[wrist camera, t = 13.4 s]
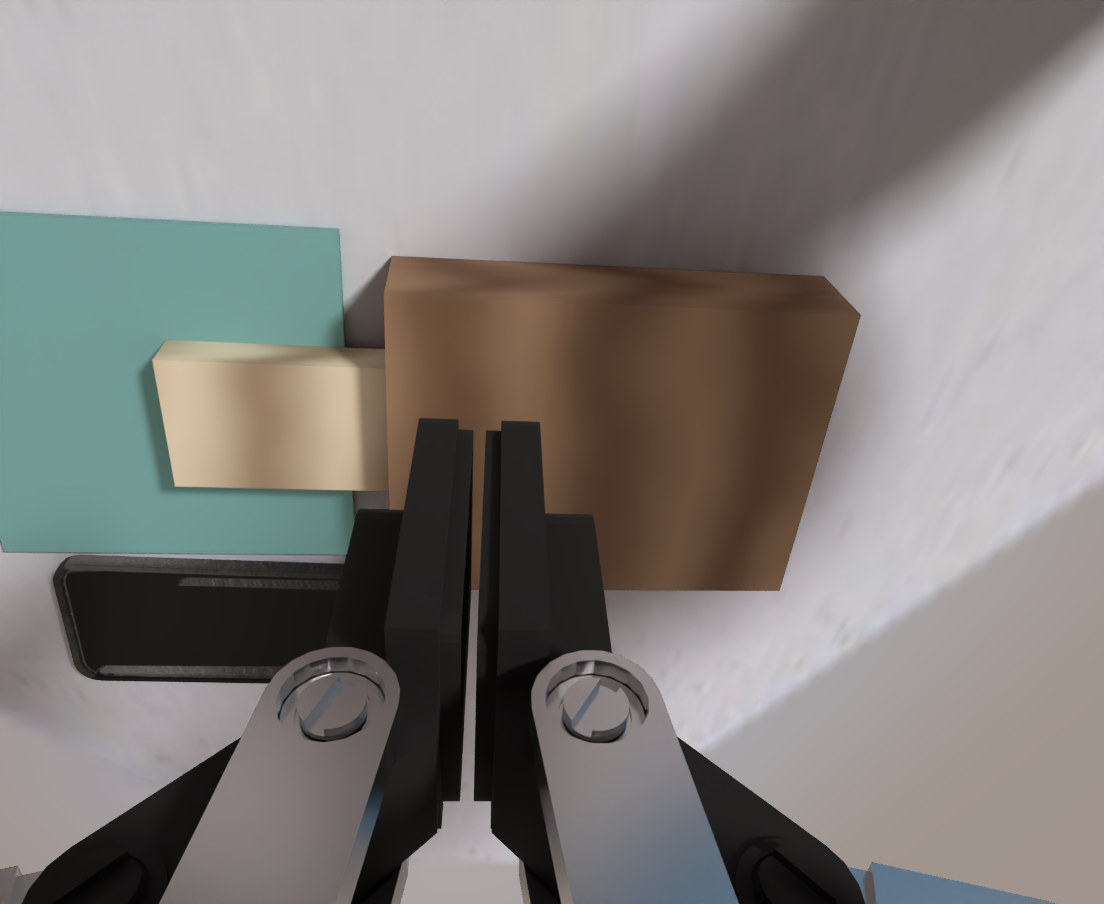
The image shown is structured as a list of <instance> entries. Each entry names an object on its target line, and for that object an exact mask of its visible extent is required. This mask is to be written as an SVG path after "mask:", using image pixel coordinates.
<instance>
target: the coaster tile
mask: <svg viewBox="0 0 1104 904" xmlns="http://www.w3.org/2000/svg"><path fill="white" fill-rule="evenodd" d="M152 362H153V367H154V373H155V378H156V384H157V389H158V395H159V400H160V406H161V411H162V417H163V422H164V428H165V434H166V439H167V445H168V450H169V456H170V461H171V467H172V472H173V478H174V483H175V486H176V487H222V488H267V489H312V490H357V491H389V475H388V438H387V401H386V364H385V349H370V348H346V347H322V346H298V345H274V344H249V343H225V342H201V341H177V340H165V342H164V343H163V345H162V346H161V348H160V349H159V351H158V352H157V354H156V355H155V357H154V358H153V359H152Z"/></svg>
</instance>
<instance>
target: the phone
mask: <svg viewBox="0 0 1104 904" xmlns="http://www.w3.org/2000/svg"><path fill="white" fill-rule="evenodd" d="M343 568H344V564H326V563H298V562H269V561H240V560H212V559H183V558H154V557H126V556H97V555H75V556H71V557H68V558H66V559H65V560H64V561H63V562H62V563H61V565H60V566H59V568H58V569H57V571H56V573H55V575H54V577H53V583H54V587H55V591H56V595H57V599H58V603H59V607H60V611H61V614H62V618H63V622H64V626H65V630H66V634H67V638H68V642H69V646H70V650H71V653H72V657H73V661H74V665H75V667H76V669H77V670H78V671H79V672H80V673H81V674H83V675H84V676H86V677H88V678H91V679H94V680H103V681H161V682H218V683H270V681H271V680H272V679H273V677H274V676H275V674H276V673H277V672H278V671H280V670H281V669H282V668H283V667H285V666H286V665H287V664H288V663H290V662H291V661H292V660H294V659H296V658H298V657H301V656H303V655H305V654H307V653H309V652H311V651H316V650H320V649H324V647H325V643H326V639H327V635H328V631H329V626H330V622H331V618H332V614H333V610H334V605H335V601H336V597H337V593H338V589H339V585H340V580H341V576H342V572H343Z"/></svg>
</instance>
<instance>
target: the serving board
mask: <svg viewBox="0 0 1104 904" xmlns="http://www.w3.org/2000/svg"><path fill="white" fill-rule="evenodd" d="M860 316H861V315H860V314H859V313H858V312H857V311H856V309H855V308H854V307H853V306H852V305H851V304H850V303H849V302H848V301H847V300H846V299H845V298H844V297H843V296H842V295H841V294H840V293H839V292H838V291H837V290H836V289H835V287H834V286H833V285H832V284H831V283H830V282H829V281H828V280H827V279H826V278H825V277H822V276H801V275H780V274H759V273H738V272H717V271H695V270H674V269H653V268H632V267H611V266H590V265H569V264H548V263H527V262H506V261H485V260H464V259H443V258H422V257H400V256H392V257H391V262H390V267H389V272H388V276H387V281H386V286H385V291H384V327H385V364H386V401H387V438H388V475H389V510H404V505H405V499H406V493H407V487H408V481H409V475H410V469H411V463H412V457H413V451H414V445H415V439H416V433H417V427H418V421H419V418H440V419H458V420H459V429H463V430H473V431H474V439H473V507H472V574H471V590H479V583H480V559H481V535H482V511H483V487H484V463H485V439H486V430H496V431H501V420H503V421H534V422H540V430H541V447H542V465H543V483H544V500H545V513H551V514H592V516H593V517H594V522H595V529H596V537H597V544H598V552H599V559H600V567H601V574H602V582H603V590H722V591H780V587H781V584H782V581H783V577H784V574H785V570H786V567H787V564H788V560H789V557H790V553H791V550H792V547H793V543H794V540H795V537H796V533H797V530H798V526H799V523H800V520H801V516H802V513H803V509H804V506H805V503H806V499H807V496H808V492H809V489H810V486H811V482H812V479H813V475H814V472H815V469H816V465H817V462H818V459H819V455H820V452H821V448H822V445H823V442H824V438H825V435H826V431H827V428H828V425H829V421H830V418H831V414H832V411H833V408H834V404H835V401H836V397H837V394H838V391H839V387H840V384H841V381H842V377H843V374H844V370H845V367H846V364H847V360H848V357H849V353H850V350H851V347H852V343H853V340H854V336H855V333H856V330H857V326H858V323H859V319H860Z"/></svg>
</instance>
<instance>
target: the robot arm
mask: <svg viewBox="0 0 1104 904" xmlns="http://www.w3.org/2000/svg"><path fill="white" fill-rule="evenodd" d="M473 439H474V431H473V430H463V429H459V420H458V419H440V418H419V421H418V427H417V433H416V439H415V445H414V451H413V457H412V463H411V469H410V475H409V481H408V487H407V493H406V499H405V505H404V510H387V509H359V510H358V512H357V515H356V518H355V522H354V526H353V530H352V534H351V538H350V543H349V547H348V551H347V555H346V559H345V564H344V568H343V572H342V576H341V580H340V585H339V589H338V593H337V597H336V601H335V605H334V610H333V614H332V618H331V622H330V626H329V631H328V635H327V639H326V643H325V647H324V649H320V650H316V651H311V652H309V653H307V654H305V655H303V656H301V657H298V658H296V659H294V660H292V661H291V662H290V663H288V664H287V665H286V666H285V667H283V668H282V669H281V670H280V671H278V672H277V673H276V674H275V676H274V677H273V679H272V680H271V681H270V683H269V684H268V686H267V687H266V688H265V690H264V692H263V694H262V696H261V698H260V701H259V703H258V705H257V707H256V709H255V711H254V713H253V715H252V717H251V719H250V721H249V723H248V725H247V727H246V729H245V731H244V733H243V735H242V737H241V738H239V739H238V740H236V741H234V742H233V743H231V744H230V745H228V746H227V747H225V748H224V749H222V750H221V751H219V752H217V753H216V754H214V755H213V756H211V757H210V758H208V759H207V760H205V761H204V762H202V763H200V764H199V765H197V766H196V767H194V768H193V769H191V770H190V771H188V772H187V773H185V774H183V775H182V776H180V777H179V778H177V779H176V780H174V781H173V782H171V783H170V784H168V785H167V786H165V787H163V788H162V789H160V790H159V791H157V792H156V793H154V794H153V795H151V796H150V797H148V798H146V799H145V800H143V801H142V802H140V803H139V804H137V805H136V806H134V807H133V808H131V809H129V810H128V811H126V812H125V813H123V814H122V815H120V816H119V817H117V818H116V819H114V820H113V821H111V822H109V823H108V824H106V825H105V826H103V827H102V828H100V829H99V830H97V831H96V832H94V833H92V834H91V835H89V836H88V837H86V838H85V839H83V840H82V841H80V842H78V843H77V844H75V845H74V846H72V847H71V848H69V849H68V850H67V851H66V852H64V853H63V854H62V855H61V856H59V857H58V858H57V859H56V860H54V861H53V862H52V863H51V864H50V865H48V866H47V867H46V868H45V869H44V871H41V872H36V873H31V874H26V875H22V873H21V871H20V870H19V868H18V866H14V867H9V868H5V869H0V904H400V902H401V898H402V895H403V891H404V887H405V883H406V879H407V875H408V864H409V856H411V855H412V854H413V853H414V852H415V851H416V850H418V849H419V848H420V847H421V846H422V845H423V844H424V843H426V842H427V841H428V840H429V839H430V838H431V837H433V836H434V835H435V834H436V833H437V829H441V825H442V811H443V801H460V791H461V772H462V753H463V734H464V715H465V697H466V678H467V659H468V640H469V621H470V602H471V574H472V507H473ZM474 801H491V829H492V833H493V834H494V835H495V836H496V837H497V838H498V839H499V840H500V841H501V842H502V843H503V844H504V845H505V846H506V847H508V848H509V849H510V850H511V851H512V852H513V853H514V854H515V855H516V856H517V857H518V858H519V878H520V884H521V890H522V895H523V902H524V904H1055V903H1052V902H1050V901H1046V900H1041V899H1037V898H1032V897H1027V896H1022V895H1018V894H1014V893H1009V892H1005V891H1000V890H996V889H991V888H987V887H982V886H978V885H973V884H969V883H964V882H960V881H955V880H950V879H946V878H941V877H937V876H932V875H928V874H923V873H919V872H914V871H910V870H905V869H901V868H896V867H892V866H887V865H883V864H878V863H874V862H872V863H871V865H870V867H869V869H868V871H865V870H860V869H856V868H851V867H847V866H846V864H845V863H844V862H843V861H842V860H841V859H840V858H839V857H838V856H837V855H836V854H835V853H833V852H832V851H831V850H830V849H829V848H828V847H827V846H826V845H824V844H823V843H822V842H820V841H819V840H818V839H816V838H815V837H813V836H812V835H810V834H809V833H808V832H806V831H805V830H804V829H802V828H801V827H800V826H798V825H797V824H796V823H794V822H793V821H791V820H790V819H789V818H787V817H786V816H785V815H783V814H782V813H781V812H779V811H778V810H776V809H775V808H774V807H772V806H771V805H770V804H768V803H767V802H766V801H764V800H763V799H762V798H760V797H759V796H757V795H756V794H755V793H753V792H752V791H750V790H749V789H748V788H747V787H745V786H744V785H742V784H741V783H740V782H738V781H737V780H735V779H734V778H733V777H732V776H730V775H729V774H727V773H726V772H725V771H723V770H722V769H721V768H719V767H718V766H717V765H715V764H714V763H712V762H711V761H710V760H708V759H707V758H706V757H704V756H703V755H701V754H700V753H699V752H697V751H696V750H695V749H693V748H692V747H691V746H689V745H688V744H686V743H685V742H684V741H682V740H681V739H680V738H678V737H677V736H676V733H675V730H674V728H673V725H672V722H671V720H670V717H669V714H668V712H667V709H666V706H665V703H664V701H663V698H662V695H661V693H660V691H659V689H658V687H657V686H656V684H655V682H654V680H653V679H652V677H651V676H650V675H649V674H648V673H647V672H645V671H644V670H643V669H642V668H641V667H640V666H639V665H638V664H636V663H634V662H632V661H630V660H628V659H627V658H625V657H623V656H621V655H617V654H613V653H612V650H611V643H610V635H609V627H608V620H607V612H606V605H605V597H604V590H603V582H602V574H601V567H600V559H599V552H598V544H597V537H596V529H595V522H594V517H593V516H592V514H551V513H545V500H544V483H543V465H542V447H541V430H540V422H534V421H503V420H501V431H496V430H486V439H485V463H484V487H483V511H482V535H481V559H480V583H479V607H478V636H477V680H476V727H475V775H474Z"/></svg>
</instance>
